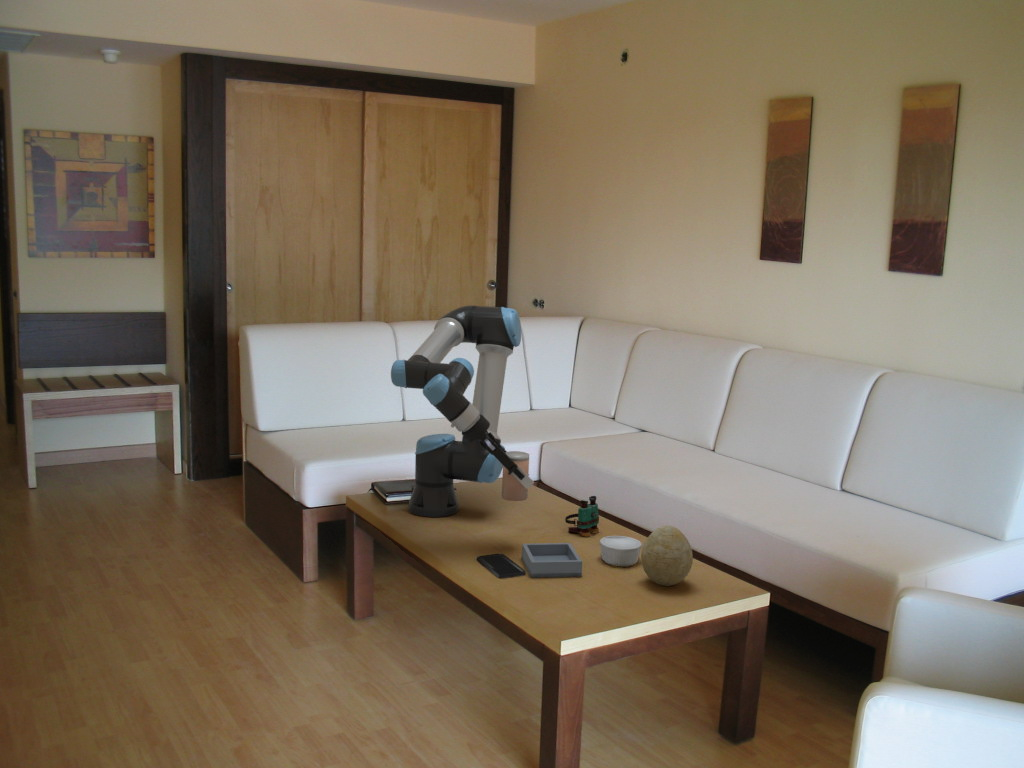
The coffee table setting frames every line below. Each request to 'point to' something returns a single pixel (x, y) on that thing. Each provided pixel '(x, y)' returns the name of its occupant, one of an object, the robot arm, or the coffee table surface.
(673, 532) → the fossilized egg
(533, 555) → the tray
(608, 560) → the ramekin
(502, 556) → the phone
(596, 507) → the binoculars
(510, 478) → the beige round cylinder
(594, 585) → the coffee table surface
